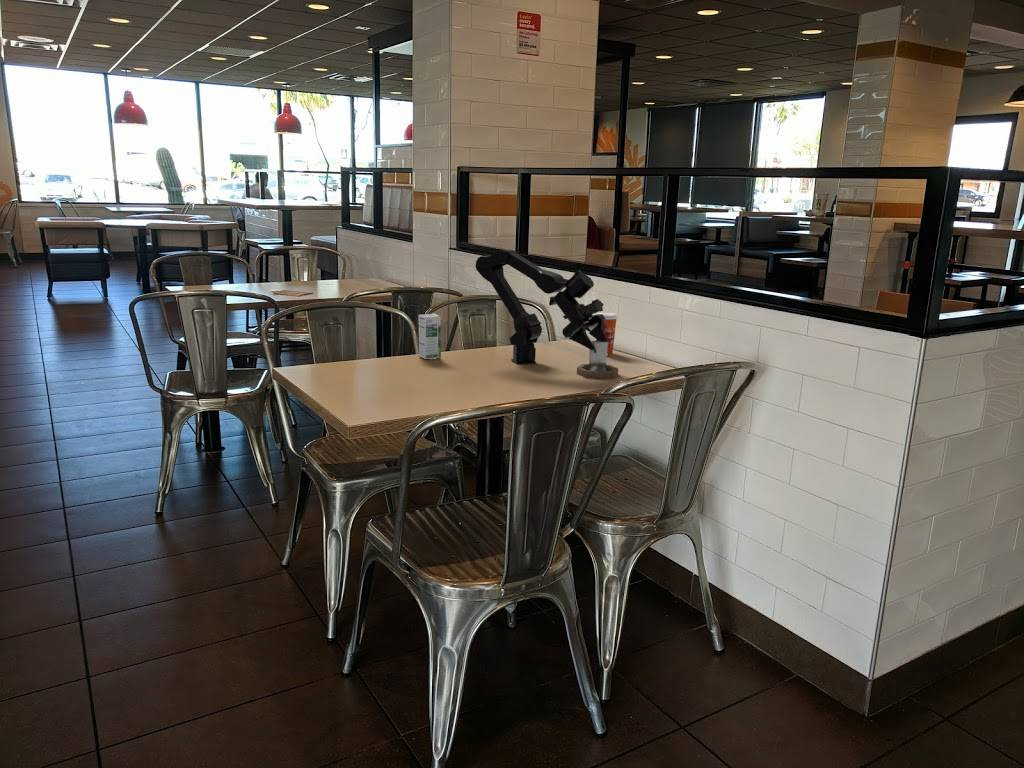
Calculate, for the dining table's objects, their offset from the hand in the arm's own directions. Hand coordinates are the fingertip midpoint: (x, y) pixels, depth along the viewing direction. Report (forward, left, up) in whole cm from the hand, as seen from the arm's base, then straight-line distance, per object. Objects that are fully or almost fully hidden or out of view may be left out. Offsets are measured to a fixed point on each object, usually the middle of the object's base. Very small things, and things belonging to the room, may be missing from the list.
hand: (600, 347), depth 235 cm
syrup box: (-44, +36, -9) cm, 58 cm away
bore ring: (0, 0, -9) cm, 9 cm away
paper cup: (+17, +28, -9) cm, 34 cm away
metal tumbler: (0, +1, -9) cm, 9 cm away
